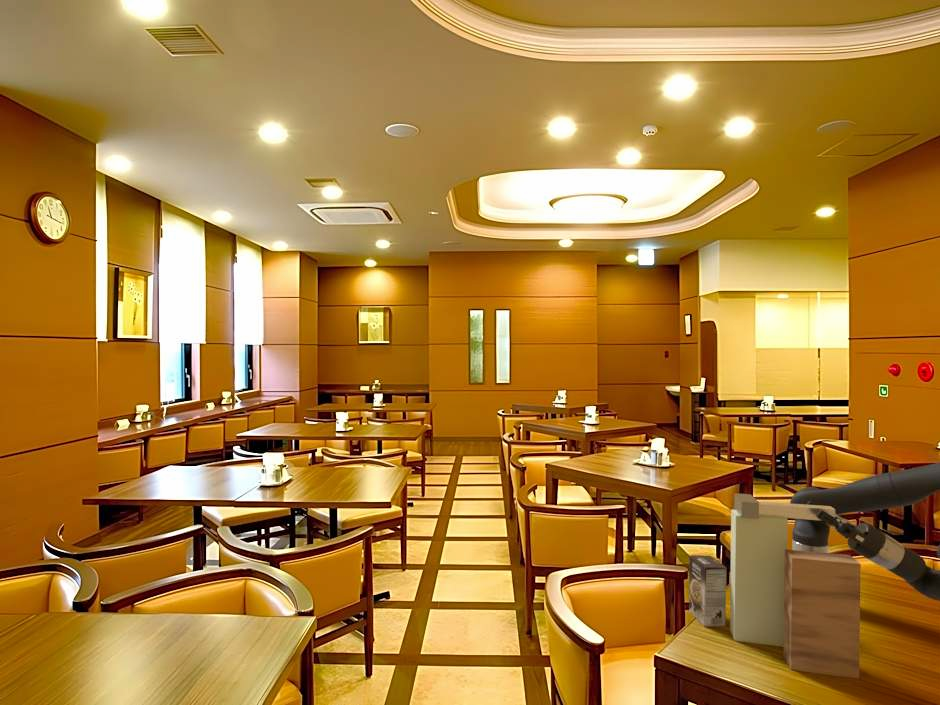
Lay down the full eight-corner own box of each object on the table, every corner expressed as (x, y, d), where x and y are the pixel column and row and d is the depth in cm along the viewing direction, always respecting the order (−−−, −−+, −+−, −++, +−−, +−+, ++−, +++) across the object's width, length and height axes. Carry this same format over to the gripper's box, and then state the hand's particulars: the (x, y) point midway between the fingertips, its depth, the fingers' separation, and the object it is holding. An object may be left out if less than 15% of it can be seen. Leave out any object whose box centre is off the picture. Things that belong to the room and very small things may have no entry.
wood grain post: (783, 656, 138) (784, 549, 138) (848, 664, 134) (849, 555, 134) (790, 669, 132) (792, 557, 132) (859, 678, 129) (860, 564, 129)
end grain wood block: (734, 508, 152) (734, 493, 152) (826, 514, 147) (826, 499, 147) (741, 517, 143) (741, 501, 143) (839, 525, 138) (839, 508, 138)
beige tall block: (729, 629, 151) (731, 509, 151) (779, 635, 148) (781, 513, 148) (734, 640, 145) (735, 515, 145) (786, 647, 142) (787, 519, 142)
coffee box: (687, 611, 161) (688, 554, 161) (709, 611, 162) (710, 554, 162) (703, 627, 152) (704, 567, 152) (726, 626, 153) (727, 566, 153)
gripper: (871, 525, 147) (811, 489, 150) (898, 542, 133) (831, 503, 136) (855, 548, 147) (795, 513, 151) (880, 569, 134) (813, 529, 137)
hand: (812, 508), depth 144 cm, fingers open, 8 cm apart
